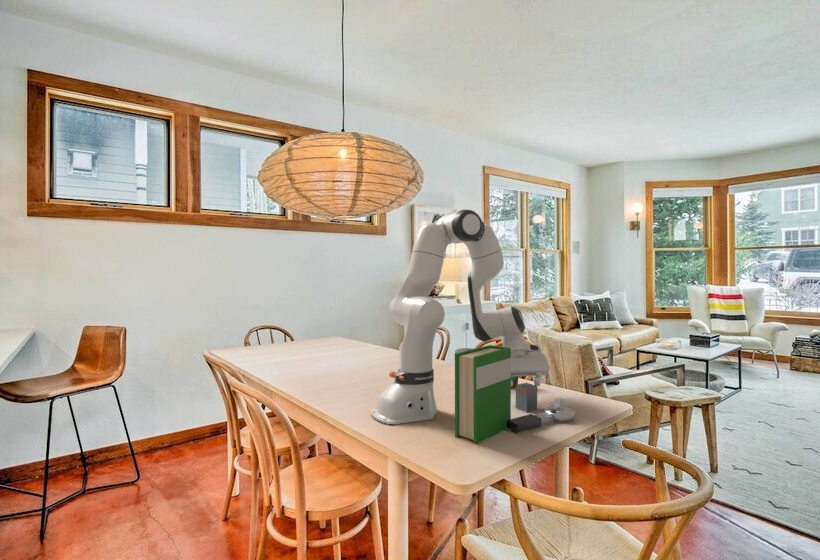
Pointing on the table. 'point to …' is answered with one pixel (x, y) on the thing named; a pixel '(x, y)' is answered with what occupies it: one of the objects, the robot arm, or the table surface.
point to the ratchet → (542, 418)
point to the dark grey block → (526, 397)
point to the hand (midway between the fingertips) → (524, 385)
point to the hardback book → (482, 392)
